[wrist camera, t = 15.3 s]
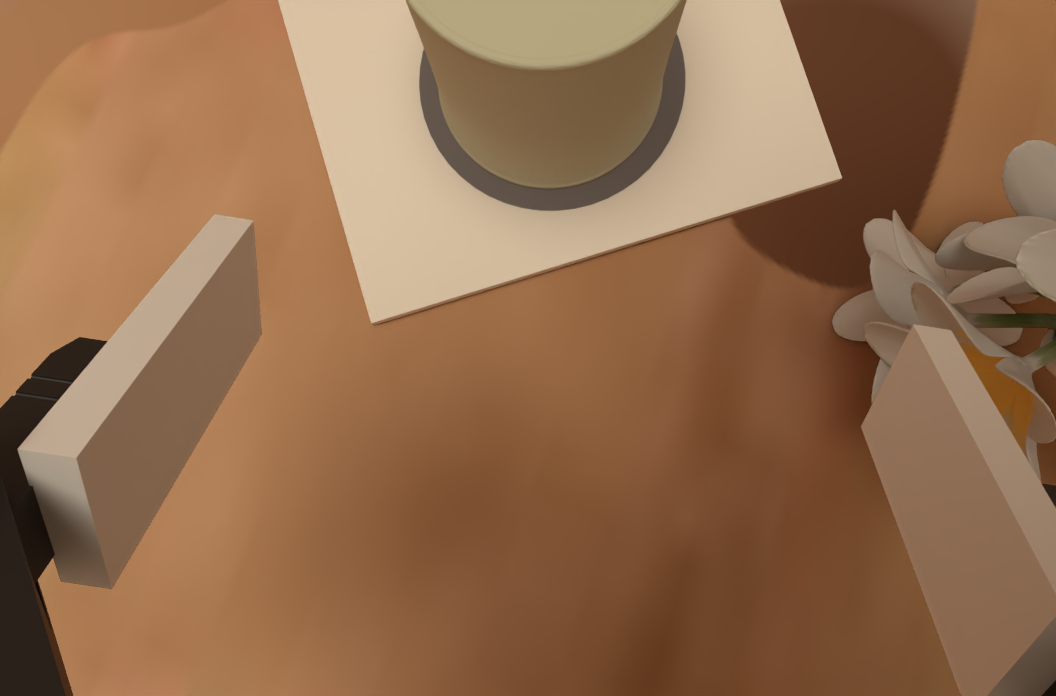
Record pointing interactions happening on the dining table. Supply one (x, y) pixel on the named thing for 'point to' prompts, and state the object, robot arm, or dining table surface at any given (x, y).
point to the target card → (536, 213)
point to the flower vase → (973, 293)
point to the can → (548, 81)
